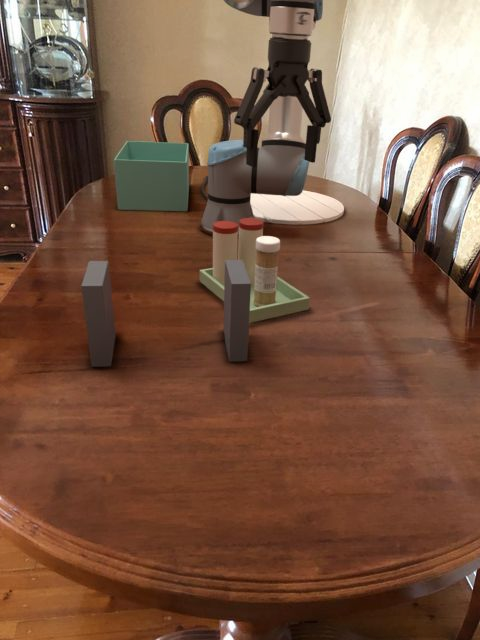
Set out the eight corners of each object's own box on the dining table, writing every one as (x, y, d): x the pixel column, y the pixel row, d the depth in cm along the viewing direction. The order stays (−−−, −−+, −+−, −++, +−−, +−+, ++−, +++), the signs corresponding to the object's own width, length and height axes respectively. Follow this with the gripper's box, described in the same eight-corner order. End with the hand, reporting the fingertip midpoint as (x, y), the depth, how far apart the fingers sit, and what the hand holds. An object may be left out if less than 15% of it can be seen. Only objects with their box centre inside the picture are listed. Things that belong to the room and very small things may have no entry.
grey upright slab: (229, 361, 87) (231, 283, 80) (223, 332, 95) (224, 259, 88) (247, 361, 87) (251, 283, 80) (239, 332, 96) (242, 259, 89)
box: (117, 209, 158) (113, 159, 151) (129, 184, 185) (126, 140, 178) (187, 211, 160) (186, 162, 153) (189, 186, 188) (188, 143, 180)
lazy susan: (248, 229, 149) (249, 217, 147) (205, 194, 179) (205, 183, 178) (367, 219, 164) (368, 208, 162) (308, 188, 194) (309, 179, 192)
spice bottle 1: (208, 282, 113) (208, 222, 106) (229, 279, 115) (230, 219, 108) (219, 291, 109) (220, 229, 102) (240, 287, 111) (242, 226, 105)
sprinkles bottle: (274, 299, 107) (279, 235, 100) (276, 309, 103) (281, 243, 97) (252, 298, 107) (255, 234, 100) (253, 308, 103) (257, 242, 96)
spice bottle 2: (233, 278, 115) (234, 219, 109) (252, 274, 118) (255, 216, 111) (244, 286, 112) (246, 226, 105) (264, 283, 114) (268, 223, 108)
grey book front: (91, 367, 83) (80, 285, 76) (98, 336, 92) (89, 260, 85) (110, 366, 84) (102, 285, 77) (115, 336, 92) (108, 260, 85)
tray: (199, 284, 114) (199, 269, 112) (253, 274, 120) (254, 260, 118) (249, 326, 98) (250, 310, 96) (308, 312, 105) (310, 297, 103)
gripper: (237, 35, 83) (234, 172, 94) (359, 41, 95) (343, 163, 106) (216, 33, 89) (215, 163, 100) (333, 39, 100) (321, 155, 111)
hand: (281, 163), depth 103 cm, fingers open, 13 cm apart
